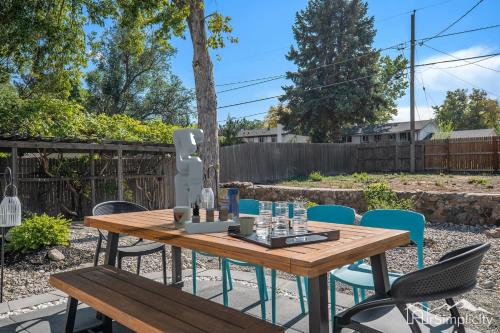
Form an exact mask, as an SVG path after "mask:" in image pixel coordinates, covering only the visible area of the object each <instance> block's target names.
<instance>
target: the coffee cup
mask: <svg viewBox="0 0 500 333" xmlns="http://www.w3.org/2000/svg"><path fill="white" fill-rule="evenodd" d="M172 210H173V212H172V213H173V226H174V228H175V229H185V224H184V222H186V221H188V218H189V207H187V206H178V207H176V206H173V208H172Z"/></svg>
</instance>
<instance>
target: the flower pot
mask: <svg viewBox="0 0 500 333" xmlns="http://www.w3.org/2000/svg"><path fill="white" fill-rule="evenodd" d="M256 218H257V217H255V216H239V217H238V219H239V229H240V235H242V234H243V235H242V236H247V235H248V236H252V235H253V234H254V227H255V221H256ZM251 234H252V235H251Z"/></svg>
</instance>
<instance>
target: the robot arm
mask: <svg viewBox="0 0 500 333" xmlns="http://www.w3.org/2000/svg"><path fill="white" fill-rule="evenodd" d="M204 140H205V133H204V131H203V130H202V129H201V128H178V129H177V128H176V129H174V130H173V132H172V141H173V145H174V147H175V155H176V156H175V158H176V159H175V160H176V162H175V164H176V165H175V166H176V169H177V170H178V172H179V173H177V174H176V175H174V180H173V181H174V187H175V189H174V190H175V207H178V206H187V207H189V218H188V221H192V217H191V216H200V204H201V203H202V202H203V201H202V200H203V199H202V196H203V195H202V186H203V184H204V183H203V179H204V178H203V176H204V175H203V168H204V164H203V160H201V159H200V157H199V156H190V155H193V154H194V153H196V151H197V150H198V149H197V148H198V147H197V146H198V145H197V143H199V144H200V143H203V142H204ZM188 189H189V190H188ZM191 204H192V205H191Z"/></svg>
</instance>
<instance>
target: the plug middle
mask: <svg viewBox="0 0 500 333" xmlns="http://www.w3.org/2000/svg"><path fill="white" fill-rule="evenodd" d="M205 220H206V222H214V220H215V207H205Z"/></svg>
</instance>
